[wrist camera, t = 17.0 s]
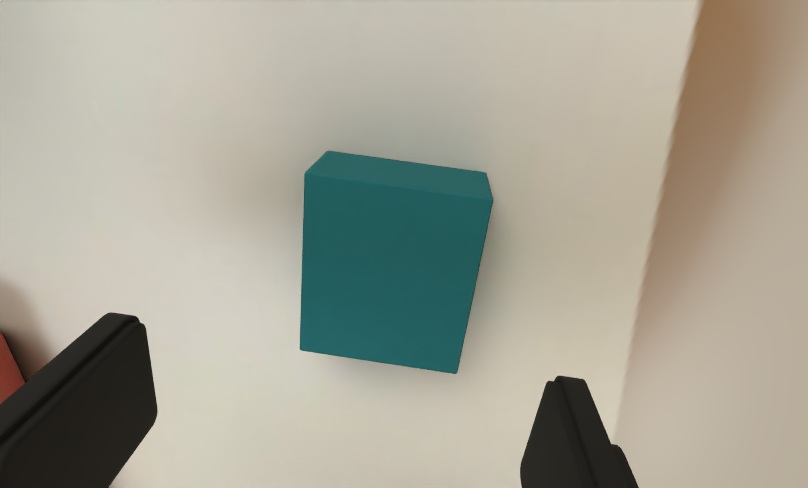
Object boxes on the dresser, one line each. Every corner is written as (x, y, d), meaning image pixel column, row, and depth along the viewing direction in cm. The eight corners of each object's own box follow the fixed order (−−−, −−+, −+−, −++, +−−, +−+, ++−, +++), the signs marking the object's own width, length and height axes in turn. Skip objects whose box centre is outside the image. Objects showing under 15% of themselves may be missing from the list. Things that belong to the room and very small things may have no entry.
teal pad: (486, 172, 17) (493, 198, 15) (456, 328, 20) (457, 375, 18) (326, 150, 17) (304, 172, 15) (319, 308, 20) (299, 350, 18)
